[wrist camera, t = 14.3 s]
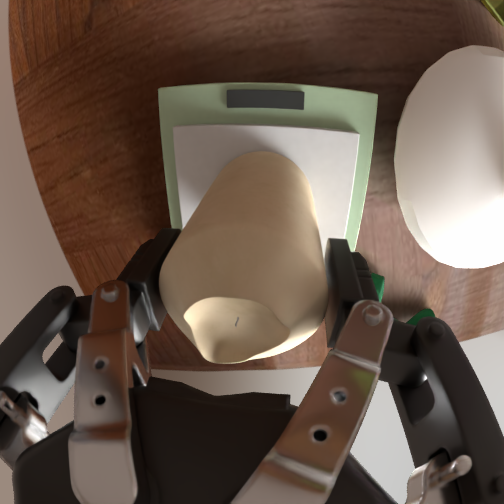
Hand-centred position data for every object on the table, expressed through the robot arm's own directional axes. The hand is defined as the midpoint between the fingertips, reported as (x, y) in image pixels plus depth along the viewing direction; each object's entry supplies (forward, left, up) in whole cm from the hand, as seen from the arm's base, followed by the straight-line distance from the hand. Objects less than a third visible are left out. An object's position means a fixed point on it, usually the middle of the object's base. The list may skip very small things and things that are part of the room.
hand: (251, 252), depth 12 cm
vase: (+15, +4, -9) cm, 18 cm away
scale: (0, 0, -9) cm, 9 cm away
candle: (0, 0, -6) cm, 6 cm away
